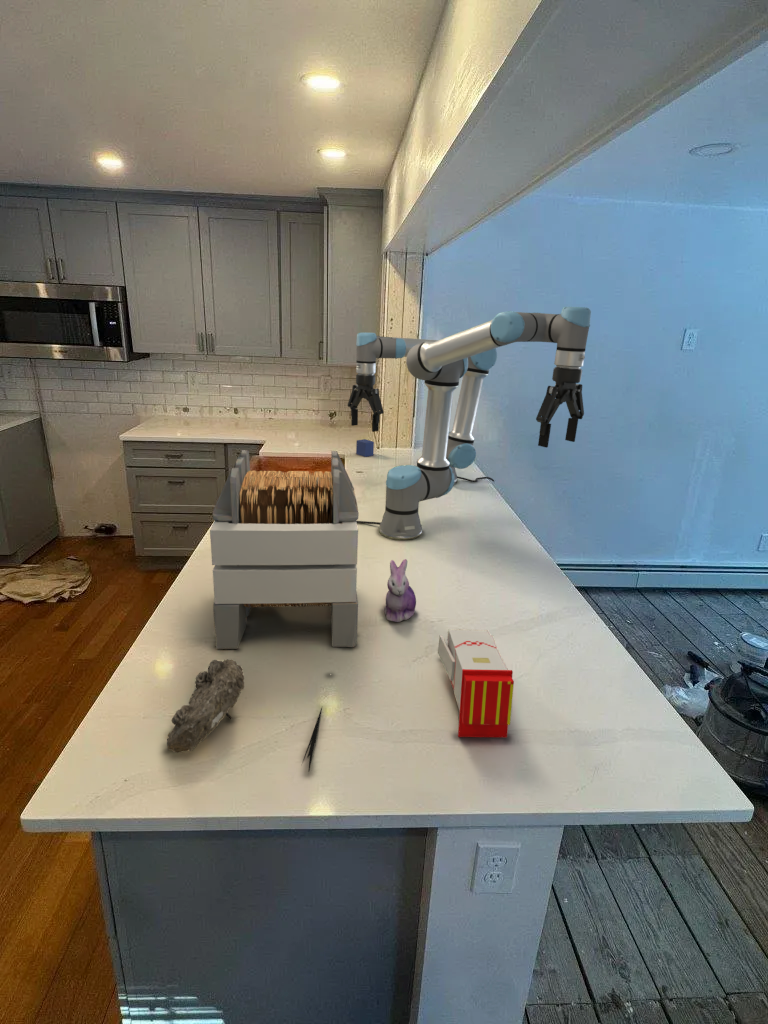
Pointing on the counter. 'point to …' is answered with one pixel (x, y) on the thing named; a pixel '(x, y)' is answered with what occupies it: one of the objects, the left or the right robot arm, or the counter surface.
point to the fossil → (206, 705)
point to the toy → (478, 682)
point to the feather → (313, 740)
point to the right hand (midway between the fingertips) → (364, 428)
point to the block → (365, 447)
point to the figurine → (399, 594)
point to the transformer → (285, 547)
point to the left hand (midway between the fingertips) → (556, 443)
